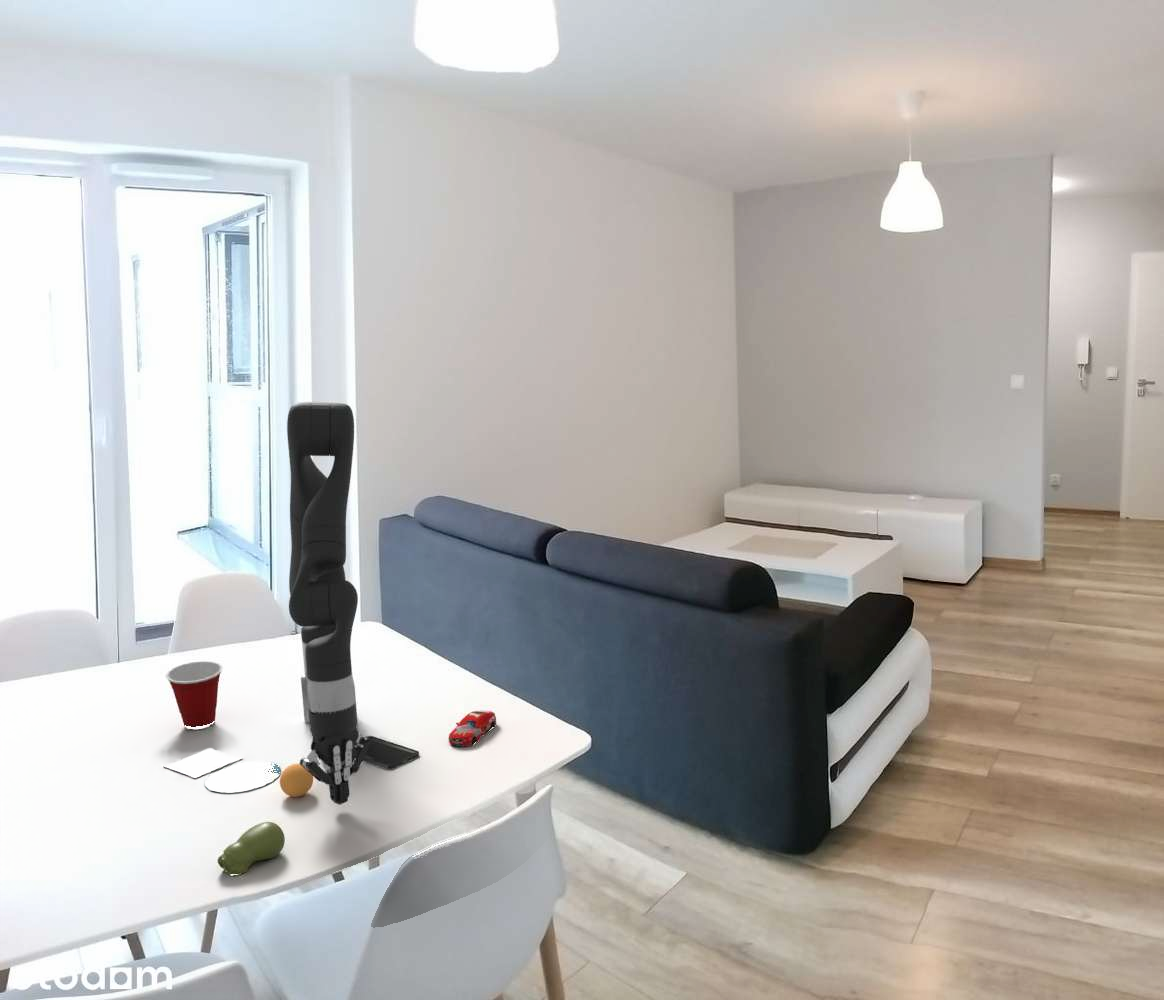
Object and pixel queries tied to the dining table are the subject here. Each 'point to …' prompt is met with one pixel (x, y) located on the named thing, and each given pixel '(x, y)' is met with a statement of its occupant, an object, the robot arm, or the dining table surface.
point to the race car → (472, 728)
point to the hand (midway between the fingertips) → (340, 802)
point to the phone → (388, 753)
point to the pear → (252, 847)
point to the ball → (296, 780)
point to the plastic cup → (196, 691)
